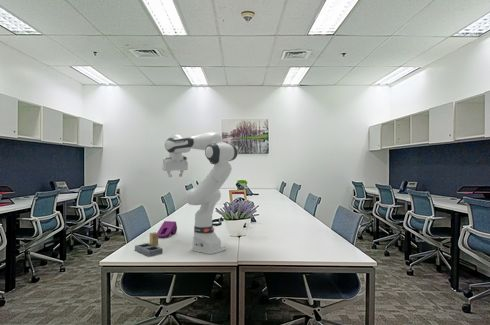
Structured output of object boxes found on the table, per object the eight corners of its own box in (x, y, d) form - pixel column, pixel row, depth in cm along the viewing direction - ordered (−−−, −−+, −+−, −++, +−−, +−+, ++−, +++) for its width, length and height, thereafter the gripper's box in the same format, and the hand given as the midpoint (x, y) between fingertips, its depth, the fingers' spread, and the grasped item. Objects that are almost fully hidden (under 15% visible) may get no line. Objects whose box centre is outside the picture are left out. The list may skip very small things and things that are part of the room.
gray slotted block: (162, 253, 186) (162, 248, 186) (148, 256, 180) (148, 251, 180) (148, 247, 199) (148, 242, 199) (134, 250, 192) (134, 245, 192)
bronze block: (158, 245, 205) (158, 233, 205) (152, 246, 202) (152, 234, 202) (155, 244, 208) (155, 232, 208) (149, 245, 205) (149, 233, 205)
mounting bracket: (169, 245, 225) (177, 230, 241) (167, 236, 222) (175, 221, 238) (157, 245, 227) (166, 229, 243) (154, 236, 223) (164, 221, 239)
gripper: (166, 157, 209) (166, 177, 209) (189, 157, 225) (189, 176, 225) (160, 157, 213) (160, 177, 213) (183, 157, 229) (183, 176, 229)
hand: (175, 176), depth 219 cm, fingers open, 8 cm apart
